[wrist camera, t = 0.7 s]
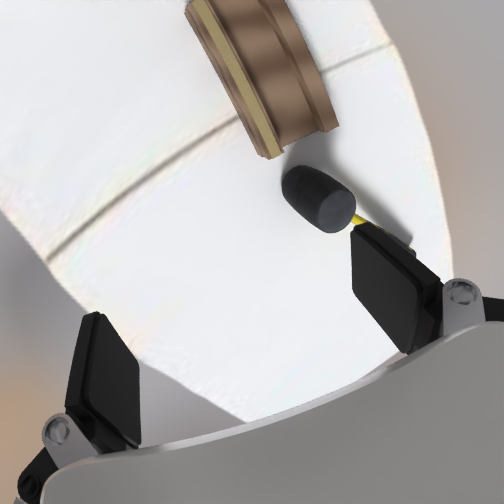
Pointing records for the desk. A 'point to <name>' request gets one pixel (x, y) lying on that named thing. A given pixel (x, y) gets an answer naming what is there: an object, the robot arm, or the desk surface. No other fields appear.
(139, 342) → the desk surface
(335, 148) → the desk surface
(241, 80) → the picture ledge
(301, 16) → the desk surface
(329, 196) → the mallet
